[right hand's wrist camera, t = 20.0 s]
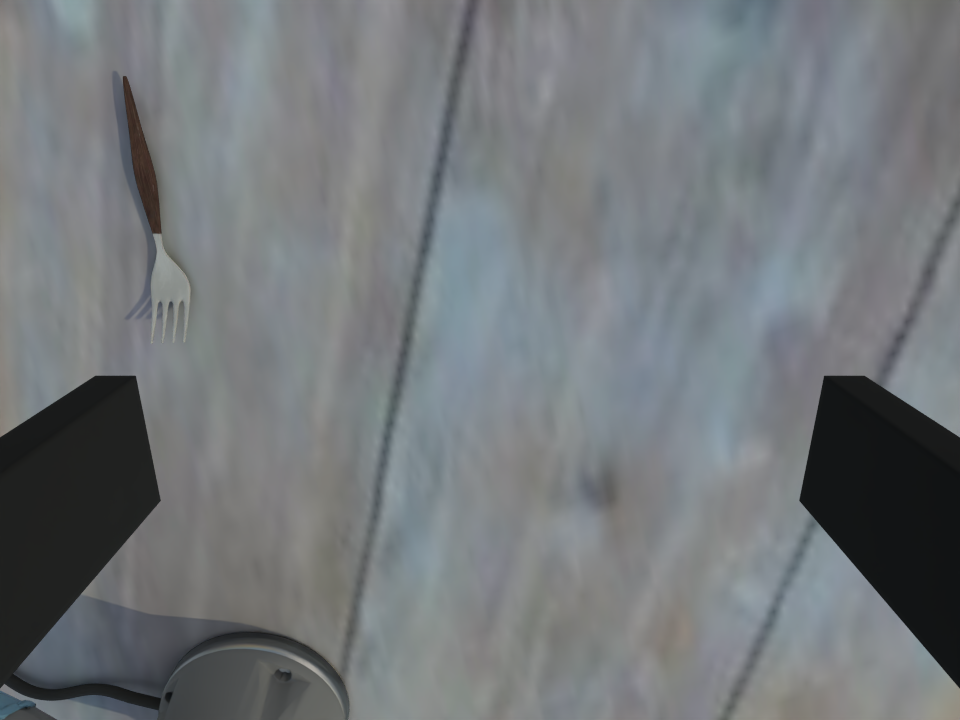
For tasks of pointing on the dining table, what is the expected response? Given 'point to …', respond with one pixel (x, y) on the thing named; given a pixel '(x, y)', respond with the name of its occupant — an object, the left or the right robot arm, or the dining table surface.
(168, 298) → the fork
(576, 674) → the dining table surface
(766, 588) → the dining table surface
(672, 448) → the dining table surface
